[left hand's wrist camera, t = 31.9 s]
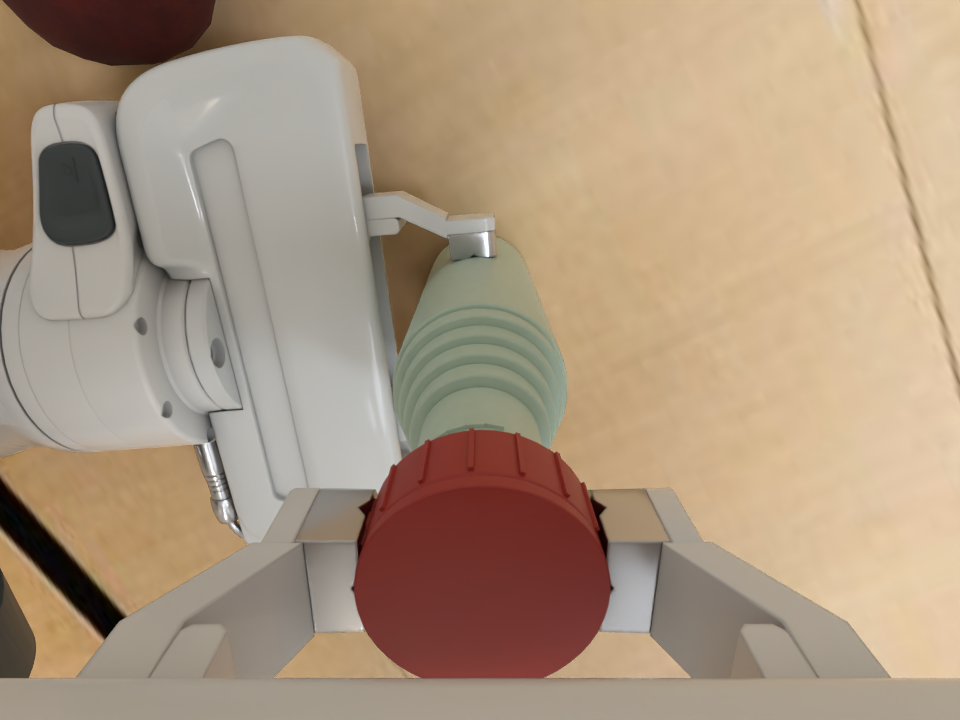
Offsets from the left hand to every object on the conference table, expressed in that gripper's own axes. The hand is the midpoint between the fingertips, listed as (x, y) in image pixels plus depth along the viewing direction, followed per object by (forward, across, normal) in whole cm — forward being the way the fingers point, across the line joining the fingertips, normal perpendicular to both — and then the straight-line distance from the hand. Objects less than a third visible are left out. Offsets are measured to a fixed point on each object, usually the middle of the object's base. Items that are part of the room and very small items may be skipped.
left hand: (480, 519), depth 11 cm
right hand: (+13, -1, 0) cm, 13 cm away
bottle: (+18, 0, 0) cm, 18 cm away
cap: (-2, 0, 0) cm, 2 cm away
